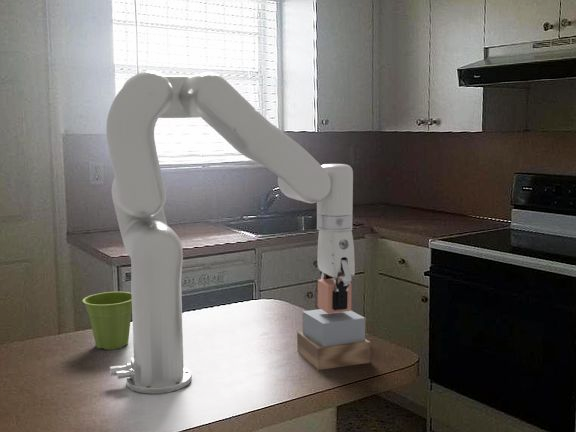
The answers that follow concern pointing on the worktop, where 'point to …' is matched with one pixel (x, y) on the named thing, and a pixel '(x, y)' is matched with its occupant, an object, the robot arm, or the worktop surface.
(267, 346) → the worktop surface
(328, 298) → the pink cube
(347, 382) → the worktop surface
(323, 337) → the upper block
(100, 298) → the plant pot
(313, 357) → the lower block
